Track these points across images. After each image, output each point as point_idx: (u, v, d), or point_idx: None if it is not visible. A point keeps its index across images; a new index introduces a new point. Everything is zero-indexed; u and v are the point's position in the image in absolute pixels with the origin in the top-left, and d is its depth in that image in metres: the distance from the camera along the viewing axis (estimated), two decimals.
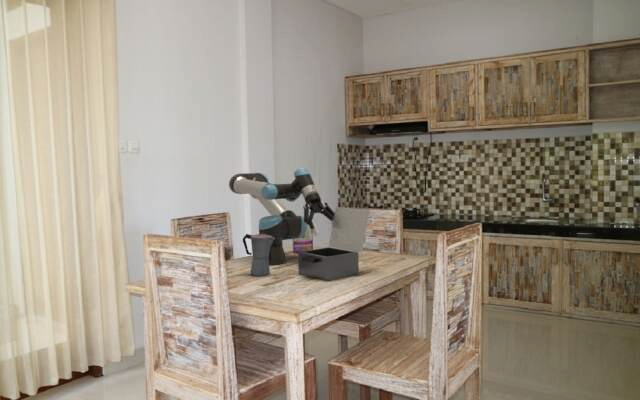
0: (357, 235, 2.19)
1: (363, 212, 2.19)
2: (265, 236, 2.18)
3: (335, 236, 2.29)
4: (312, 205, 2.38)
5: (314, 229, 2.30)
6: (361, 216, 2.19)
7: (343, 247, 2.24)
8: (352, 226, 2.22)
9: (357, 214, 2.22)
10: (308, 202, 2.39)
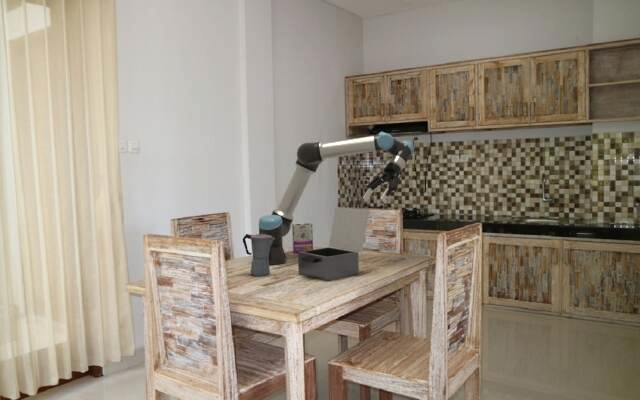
0: (357, 235, 2.19)
1: (363, 212, 2.19)
2: (265, 236, 2.17)
3: (335, 236, 2.29)
4: None
5: (385, 197, 2.31)
6: (361, 216, 2.19)
7: (343, 247, 2.24)
8: (352, 226, 2.22)
9: (357, 214, 2.22)
10: (397, 172, 2.39)
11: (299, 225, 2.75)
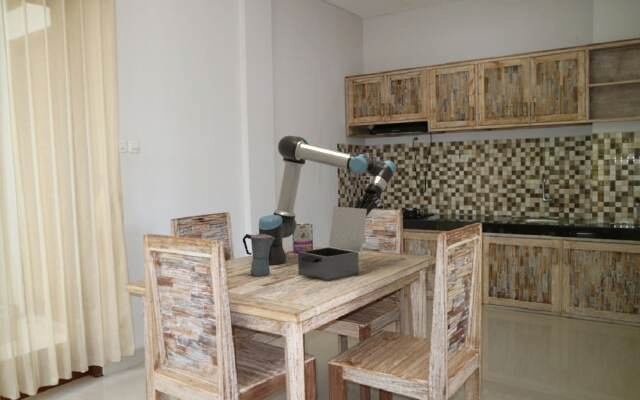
0: (356, 235, 2.18)
1: (361, 212, 2.18)
2: (265, 236, 2.18)
3: (334, 236, 2.29)
4: None
5: None
6: (359, 216, 2.18)
7: (343, 247, 2.24)
8: (351, 226, 2.22)
9: (355, 213, 2.21)
10: (378, 194, 2.31)
11: (299, 225, 2.75)
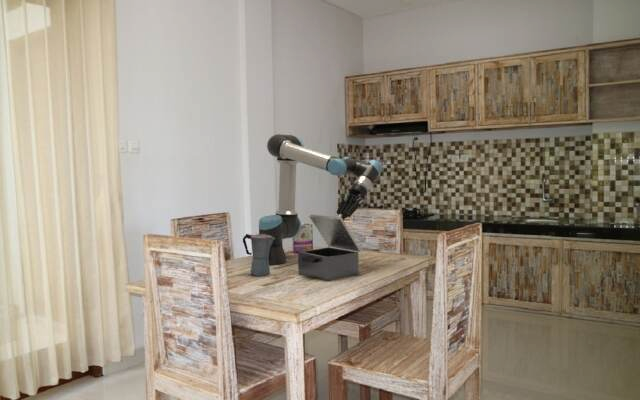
0: (347, 239, 2.15)
1: (338, 221, 2.09)
2: (265, 236, 2.17)
3: (328, 239, 2.27)
4: None
5: None
6: (339, 224, 2.11)
7: (342, 247, 2.23)
8: (337, 232, 2.17)
9: (333, 222, 2.13)
10: (362, 194, 2.24)
11: None
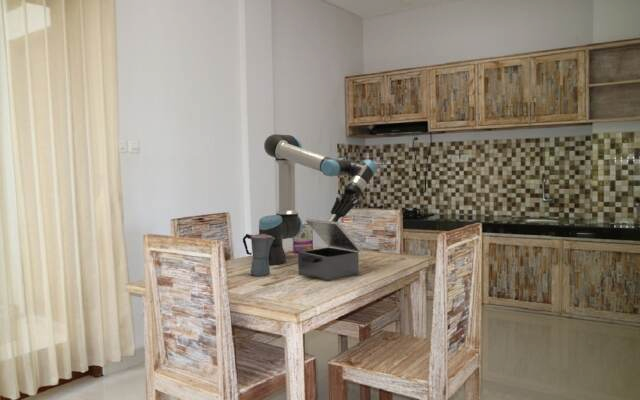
0: (346, 241, 2.14)
1: (335, 226, 2.08)
2: (265, 236, 2.18)
3: (327, 240, 2.26)
4: None
5: None
6: (336, 228, 2.10)
7: (342, 248, 2.23)
8: (335, 235, 2.16)
9: (330, 227, 2.12)
10: (357, 194, 2.22)
11: None
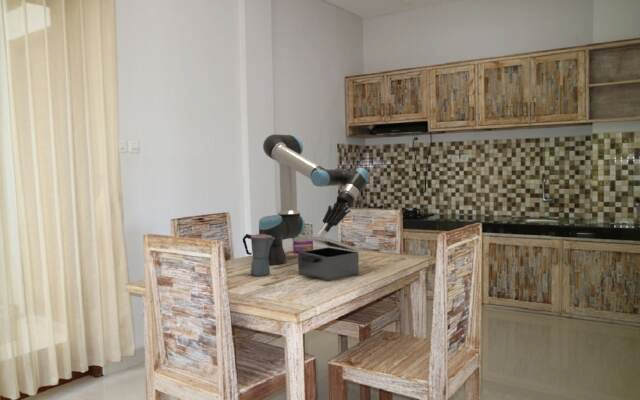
0: (343, 247, 2.14)
1: (328, 241, 2.06)
2: (265, 236, 2.18)
3: (325, 244, 2.26)
4: None
5: (325, 232, 2.15)
6: (330, 242, 2.08)
7: (342, 248, 2.23)
8: (331, 244, 2.15)
9: (324, 241, 2.10)
10: (349, 203, 2.20)
11: None
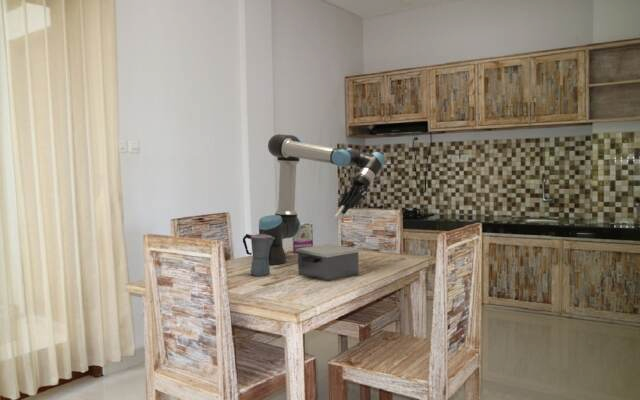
0: None
1: None
2: (265, 236, 2.18)
3: None
4: None
5: (341, 214, 2.20)
6: None
7: None
8: None
9: None
10: (365, 186, 2.25)
11: None
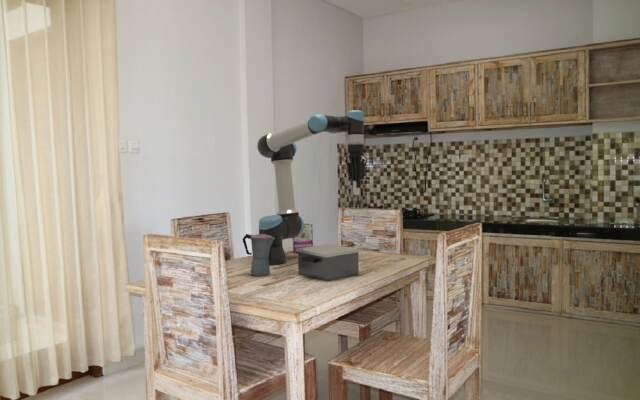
0: None
1: None
2: (265, 236, 2.17)
3: None
4: None
5: (358, 189, 2.30)
6: None
7: None
8: None
9: None
10: (361, 151, 2.26)
11: None
